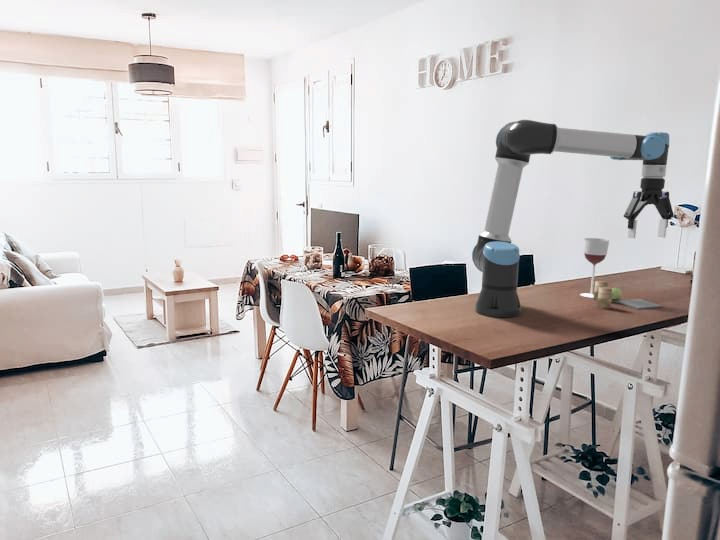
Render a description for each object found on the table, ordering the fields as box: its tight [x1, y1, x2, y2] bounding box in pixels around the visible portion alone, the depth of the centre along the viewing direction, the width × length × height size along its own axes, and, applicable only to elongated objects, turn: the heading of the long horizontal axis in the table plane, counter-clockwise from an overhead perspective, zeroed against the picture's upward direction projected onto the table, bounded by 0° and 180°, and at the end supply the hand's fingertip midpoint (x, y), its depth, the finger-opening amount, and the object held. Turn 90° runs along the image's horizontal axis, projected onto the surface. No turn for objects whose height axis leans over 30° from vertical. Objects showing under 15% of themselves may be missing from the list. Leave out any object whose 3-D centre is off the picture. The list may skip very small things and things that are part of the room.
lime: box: [611, 287, 623, 301], centre depth 213 cm, size 5×5×5 cm
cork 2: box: [596, 286, 613, 310], centre depth 201 cm, size 4×4×7 cm
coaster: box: [614, 298, 663, 310], centre depth 206 cm, size 11×11×1 cm
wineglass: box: [579, 237, 610, 299], centre depth 218 cm, size 9×10×22 cm
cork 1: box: [593, 280, 609, 302], centre depth 212 cm, size 4×4×7 cm
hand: (646, 237), depth 202 cm, fingers open, 13 cm apart
